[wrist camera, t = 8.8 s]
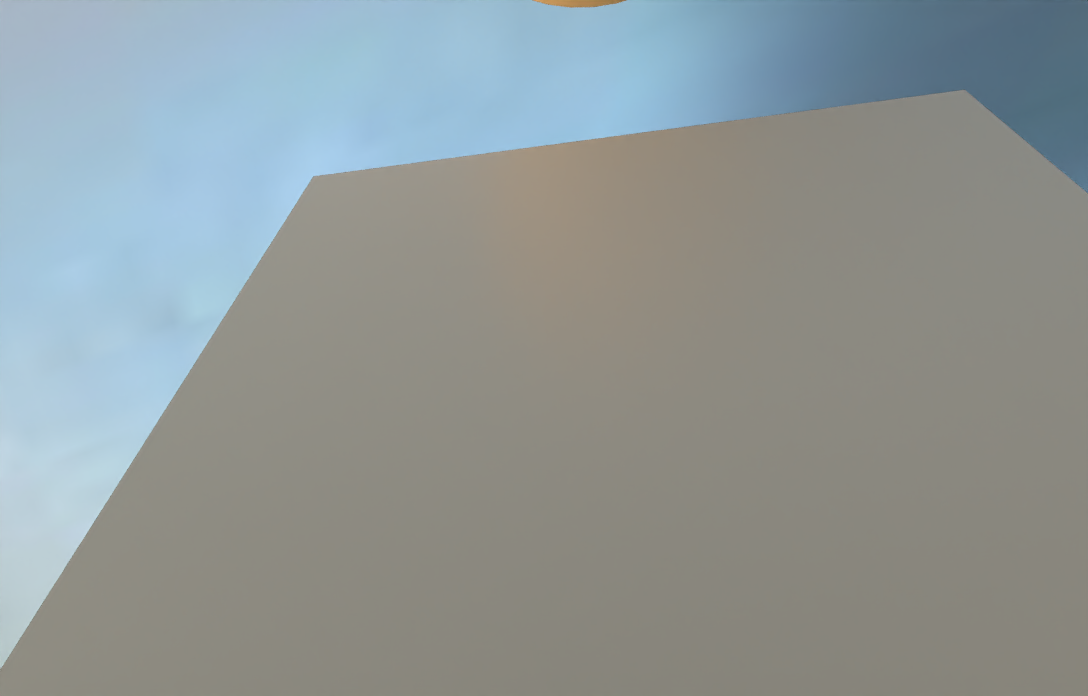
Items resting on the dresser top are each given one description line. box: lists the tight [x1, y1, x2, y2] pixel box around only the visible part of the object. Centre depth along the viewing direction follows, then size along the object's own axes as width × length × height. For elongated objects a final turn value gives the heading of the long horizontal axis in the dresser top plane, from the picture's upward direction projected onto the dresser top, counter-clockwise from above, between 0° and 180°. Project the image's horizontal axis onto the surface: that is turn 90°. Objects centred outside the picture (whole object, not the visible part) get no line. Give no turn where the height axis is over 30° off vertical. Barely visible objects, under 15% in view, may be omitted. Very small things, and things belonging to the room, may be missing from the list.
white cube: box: [0, 90, 1088, 696], centre depth 8 cm, size 8×8×8 cm
